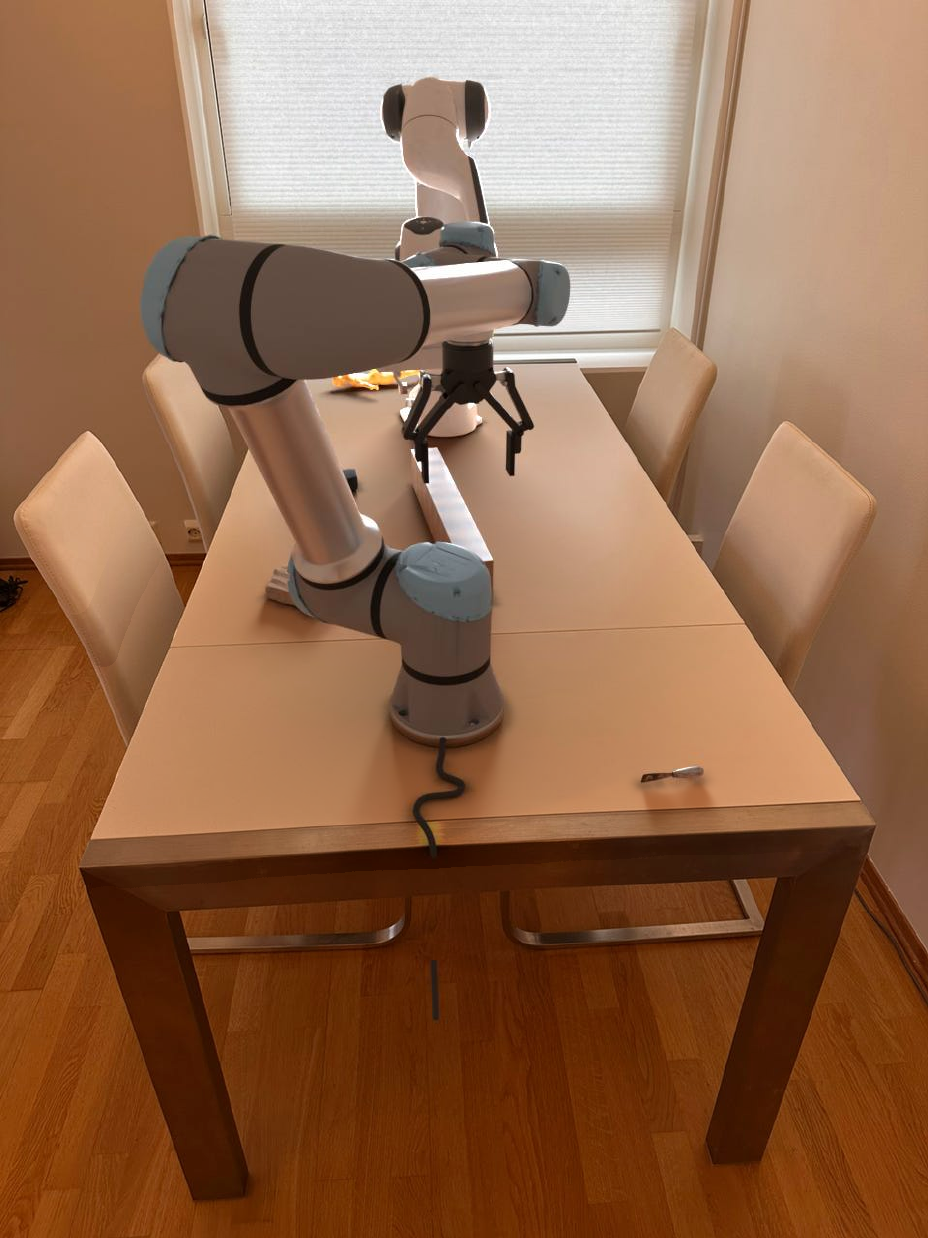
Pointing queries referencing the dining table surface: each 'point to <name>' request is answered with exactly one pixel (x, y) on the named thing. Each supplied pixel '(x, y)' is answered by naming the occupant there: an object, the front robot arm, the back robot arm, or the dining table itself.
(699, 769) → the putty knife
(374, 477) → the dining table surface
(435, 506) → the beam
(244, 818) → the dining table surface
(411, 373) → the human figure
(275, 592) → the stone
